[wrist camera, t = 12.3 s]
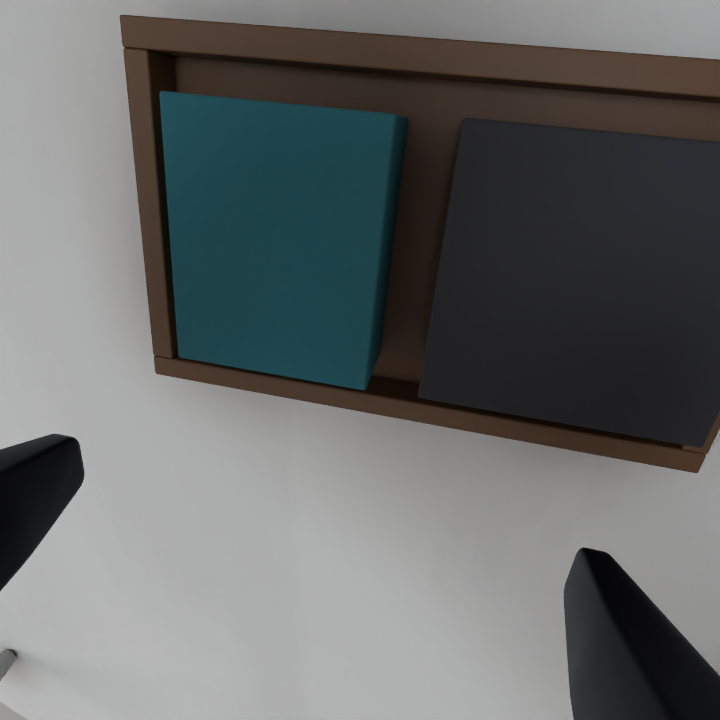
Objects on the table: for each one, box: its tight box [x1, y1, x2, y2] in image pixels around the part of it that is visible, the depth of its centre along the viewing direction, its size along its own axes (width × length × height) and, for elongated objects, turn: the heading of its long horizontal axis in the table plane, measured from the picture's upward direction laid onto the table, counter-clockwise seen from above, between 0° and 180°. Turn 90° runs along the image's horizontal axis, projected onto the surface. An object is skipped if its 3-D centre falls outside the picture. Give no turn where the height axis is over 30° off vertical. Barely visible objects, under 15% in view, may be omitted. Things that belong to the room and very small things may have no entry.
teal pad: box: [159, 91, 408, 390], centre depth 16 cm, size 8×6×3 cm
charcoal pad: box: [418, 118, 720, 448], centre depth 15 cm, size 8×8×3 cm
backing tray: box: [120, 15, 720, 473], centre depth 16 cm, size 12×20×2 cm, turn 85°
